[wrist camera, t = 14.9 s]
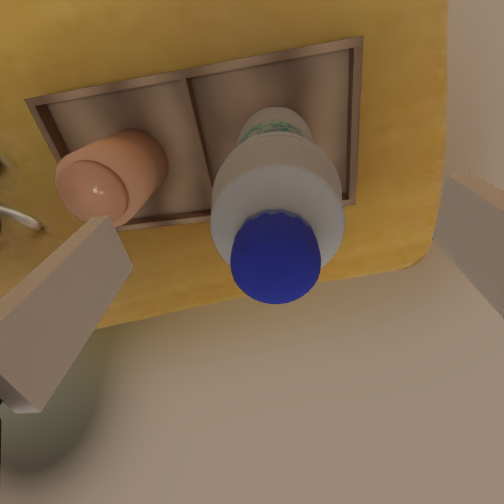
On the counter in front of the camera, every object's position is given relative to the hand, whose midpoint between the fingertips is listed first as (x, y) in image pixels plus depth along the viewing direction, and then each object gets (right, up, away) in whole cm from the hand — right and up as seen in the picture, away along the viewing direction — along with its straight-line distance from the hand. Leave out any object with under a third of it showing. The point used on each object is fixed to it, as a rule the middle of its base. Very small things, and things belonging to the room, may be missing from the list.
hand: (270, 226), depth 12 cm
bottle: (+1, +9, +15) cm, 18 cm away
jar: (-12, +8, +16) cm, 22 cm away
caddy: (-5, +9, +16) cm, 19 cm away
